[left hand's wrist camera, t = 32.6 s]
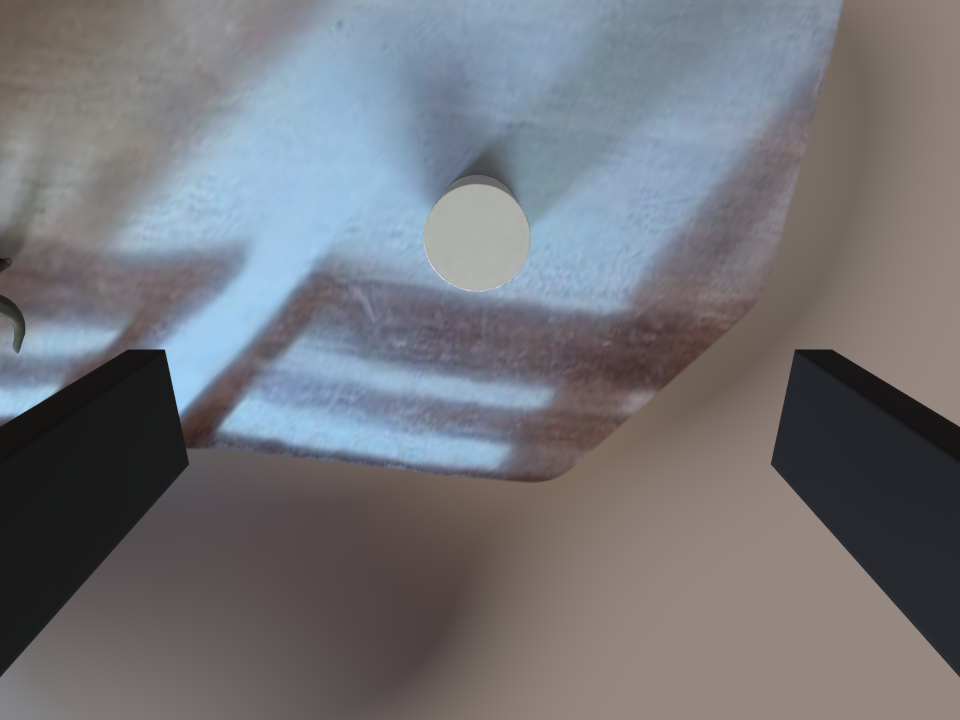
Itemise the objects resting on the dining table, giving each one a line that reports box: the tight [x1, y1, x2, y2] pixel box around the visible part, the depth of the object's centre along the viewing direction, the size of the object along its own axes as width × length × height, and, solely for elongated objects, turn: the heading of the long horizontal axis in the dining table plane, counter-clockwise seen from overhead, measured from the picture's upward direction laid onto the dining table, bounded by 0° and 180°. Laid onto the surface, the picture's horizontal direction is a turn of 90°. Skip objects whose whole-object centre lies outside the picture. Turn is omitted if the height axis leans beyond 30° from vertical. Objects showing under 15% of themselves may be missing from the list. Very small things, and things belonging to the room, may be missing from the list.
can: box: [424, 175, 531, 291], centre depth 41 cm, size 7×7×10 cm
